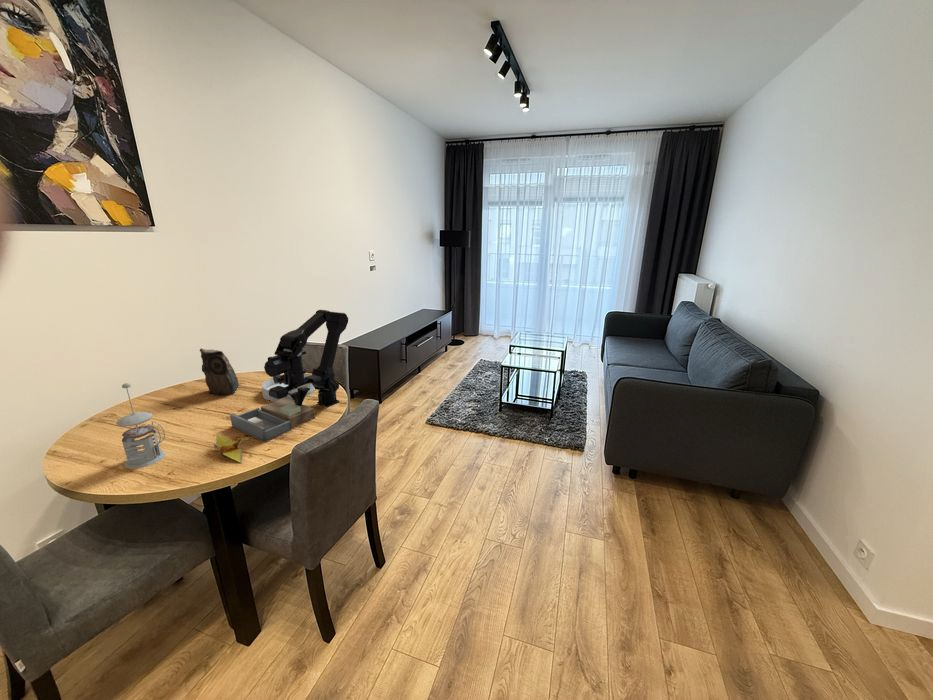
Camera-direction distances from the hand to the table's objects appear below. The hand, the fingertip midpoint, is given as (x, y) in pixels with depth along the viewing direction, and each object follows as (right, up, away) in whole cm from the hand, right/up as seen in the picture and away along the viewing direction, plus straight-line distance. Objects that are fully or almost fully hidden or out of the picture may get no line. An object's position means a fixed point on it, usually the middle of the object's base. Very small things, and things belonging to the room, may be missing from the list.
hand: (299, 407), depth 137 cm
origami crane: (-12, -11, -22) cm, 28 cm away
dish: (-16, +3, +26) cm, 30 cm away
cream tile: (-14, -4, -7) cm, 16 cm away
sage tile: (-2, -1, -3) cm, 4 cm away
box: (-10, -7, -7) cm, 14 cm away
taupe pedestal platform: (-5, -4, +2) cm, 7 cm away
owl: (-44, +3, +25) cm, 51 cm away
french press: (-34, -12, -26) cm, 45 cm away
